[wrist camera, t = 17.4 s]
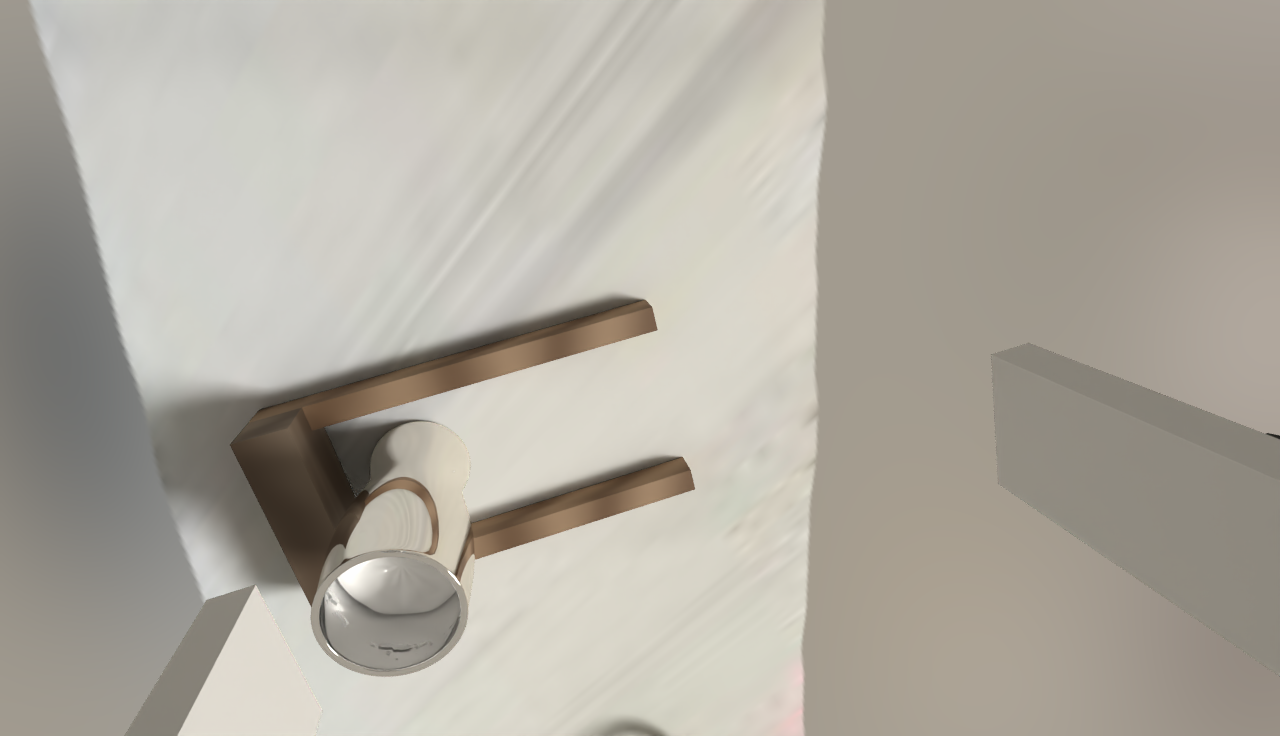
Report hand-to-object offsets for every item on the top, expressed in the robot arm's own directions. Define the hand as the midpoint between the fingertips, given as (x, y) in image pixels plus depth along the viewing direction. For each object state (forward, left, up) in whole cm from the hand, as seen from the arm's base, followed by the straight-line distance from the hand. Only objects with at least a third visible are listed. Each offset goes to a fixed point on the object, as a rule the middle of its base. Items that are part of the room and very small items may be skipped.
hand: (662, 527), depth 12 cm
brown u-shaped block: (+13, 0, -32) cm, 34 cm away
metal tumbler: (+15, -4, -32) cm, 36 cm away
